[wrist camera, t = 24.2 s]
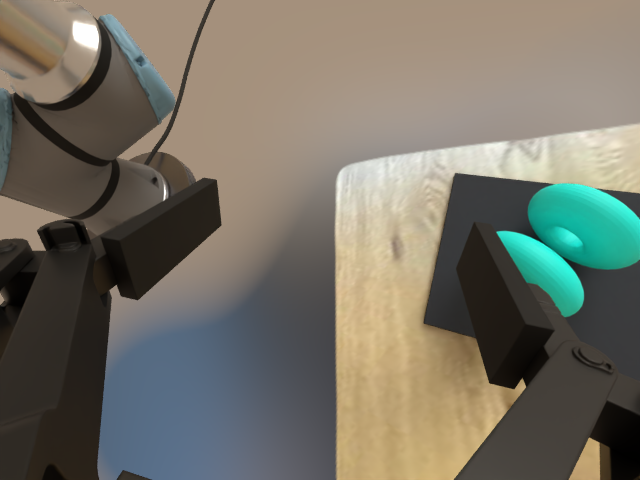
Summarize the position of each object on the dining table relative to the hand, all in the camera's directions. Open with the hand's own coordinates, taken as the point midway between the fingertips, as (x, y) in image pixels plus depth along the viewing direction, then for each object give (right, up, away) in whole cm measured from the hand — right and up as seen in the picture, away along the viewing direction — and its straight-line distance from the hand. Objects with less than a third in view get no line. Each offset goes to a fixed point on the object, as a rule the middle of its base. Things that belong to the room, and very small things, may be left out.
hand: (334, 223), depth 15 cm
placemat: (+24, -4, +19) cm, 31 cm away
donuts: (+24, -3, +19) cm, 30 cm away
